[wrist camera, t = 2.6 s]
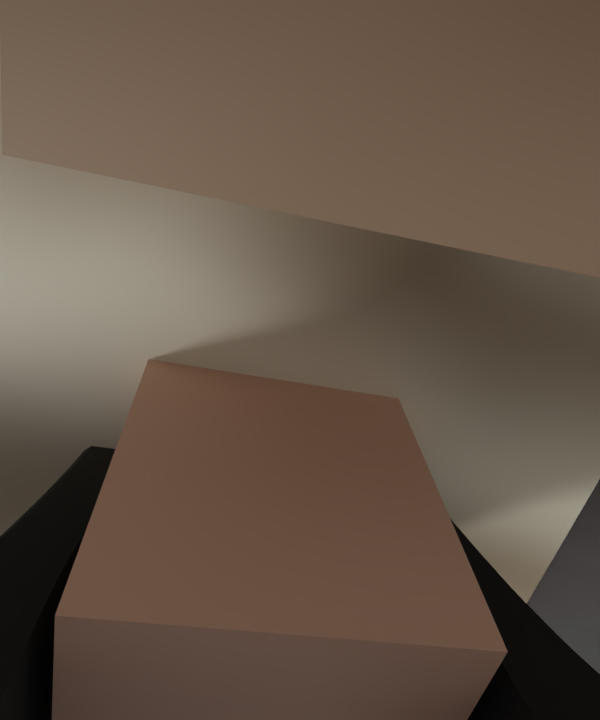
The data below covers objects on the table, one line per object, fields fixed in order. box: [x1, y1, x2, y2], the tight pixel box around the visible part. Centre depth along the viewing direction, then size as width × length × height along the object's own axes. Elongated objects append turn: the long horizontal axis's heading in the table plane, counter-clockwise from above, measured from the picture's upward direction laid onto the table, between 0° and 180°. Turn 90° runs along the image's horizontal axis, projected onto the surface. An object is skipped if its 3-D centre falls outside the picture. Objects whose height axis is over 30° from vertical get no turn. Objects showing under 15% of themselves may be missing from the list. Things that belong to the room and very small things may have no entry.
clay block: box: [52, 359, 508, 720], centre depth 9 cm, size 4×4×5 cm
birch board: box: [0, 63, 600, 604], centre depth 9 cm, size 20×14×1 cm
